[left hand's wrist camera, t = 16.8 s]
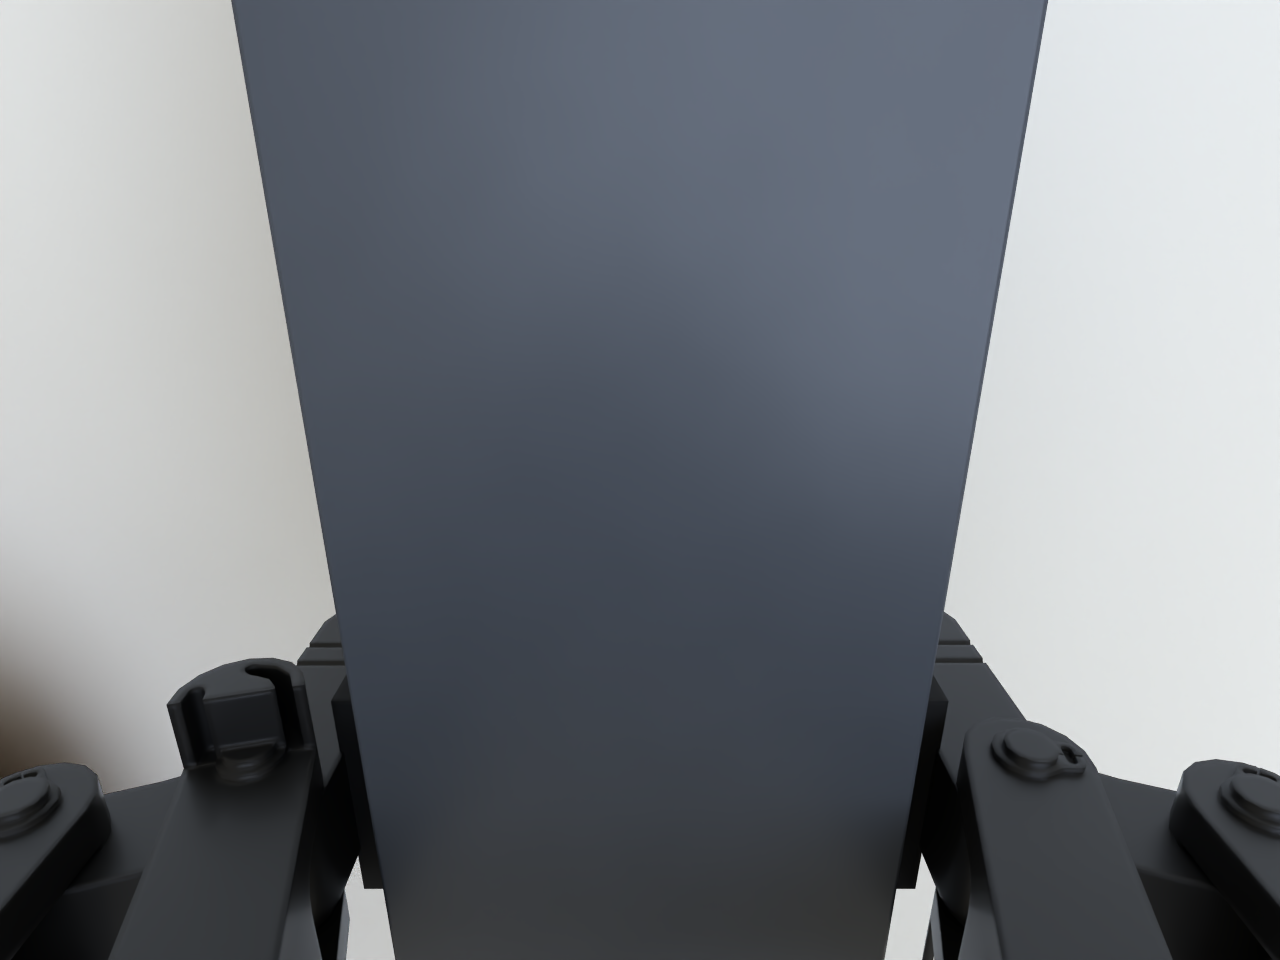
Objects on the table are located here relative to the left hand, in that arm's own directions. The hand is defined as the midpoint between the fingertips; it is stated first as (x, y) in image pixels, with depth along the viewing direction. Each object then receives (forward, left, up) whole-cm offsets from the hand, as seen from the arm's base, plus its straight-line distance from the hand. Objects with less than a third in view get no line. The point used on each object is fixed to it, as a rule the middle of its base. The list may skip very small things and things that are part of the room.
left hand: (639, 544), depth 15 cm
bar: (+8, +7, -1) cm, 10 cm away
